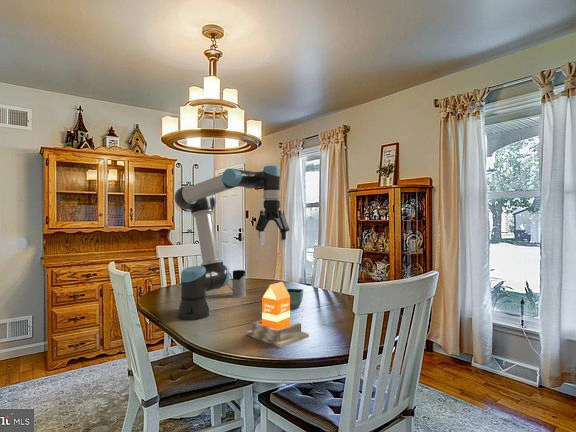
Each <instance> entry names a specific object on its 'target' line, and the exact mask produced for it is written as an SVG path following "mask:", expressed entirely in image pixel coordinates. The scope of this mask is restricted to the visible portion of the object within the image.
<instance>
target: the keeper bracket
mask: <svg viewBox="0 0 576 432" xmlns="http://www.w3.org/2000/svg"><path fill="white" fill-rule="evenodd" d="M245 334H246V336H249V337H251V338H253V339H256V340H259V341H261V342H264V343H267V344H270V345H272V346H274V347H277V348H280V349H281V348H284V347H286V346H288V345H291V344H294V343H297V342H300V341H302V340H304V339H307V338H309V336H310V333H308V332H304V331H302V323H300V322H297V323H293V324H290V326H287V327H284V328H281V329H278V330H277V329H274V328H271V327H268V326H265V325H262V319H261V320H258V321H257V320H256V321H253V322H251V330H248V331H246V333H245Z"/></svg>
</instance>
